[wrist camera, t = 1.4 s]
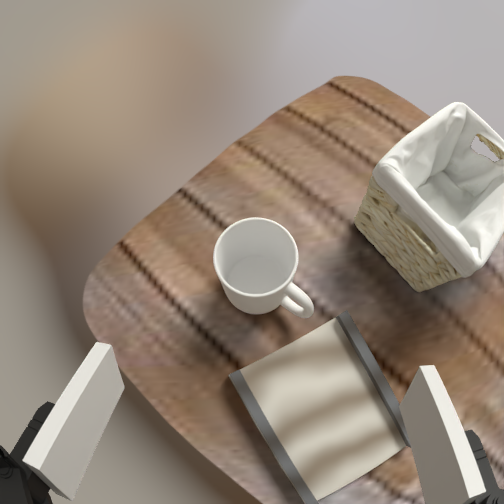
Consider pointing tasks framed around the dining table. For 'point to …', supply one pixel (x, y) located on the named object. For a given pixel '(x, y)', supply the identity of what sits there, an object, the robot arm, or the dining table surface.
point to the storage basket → (437, 200)
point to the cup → (260, 267)
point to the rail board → (323, 408)
